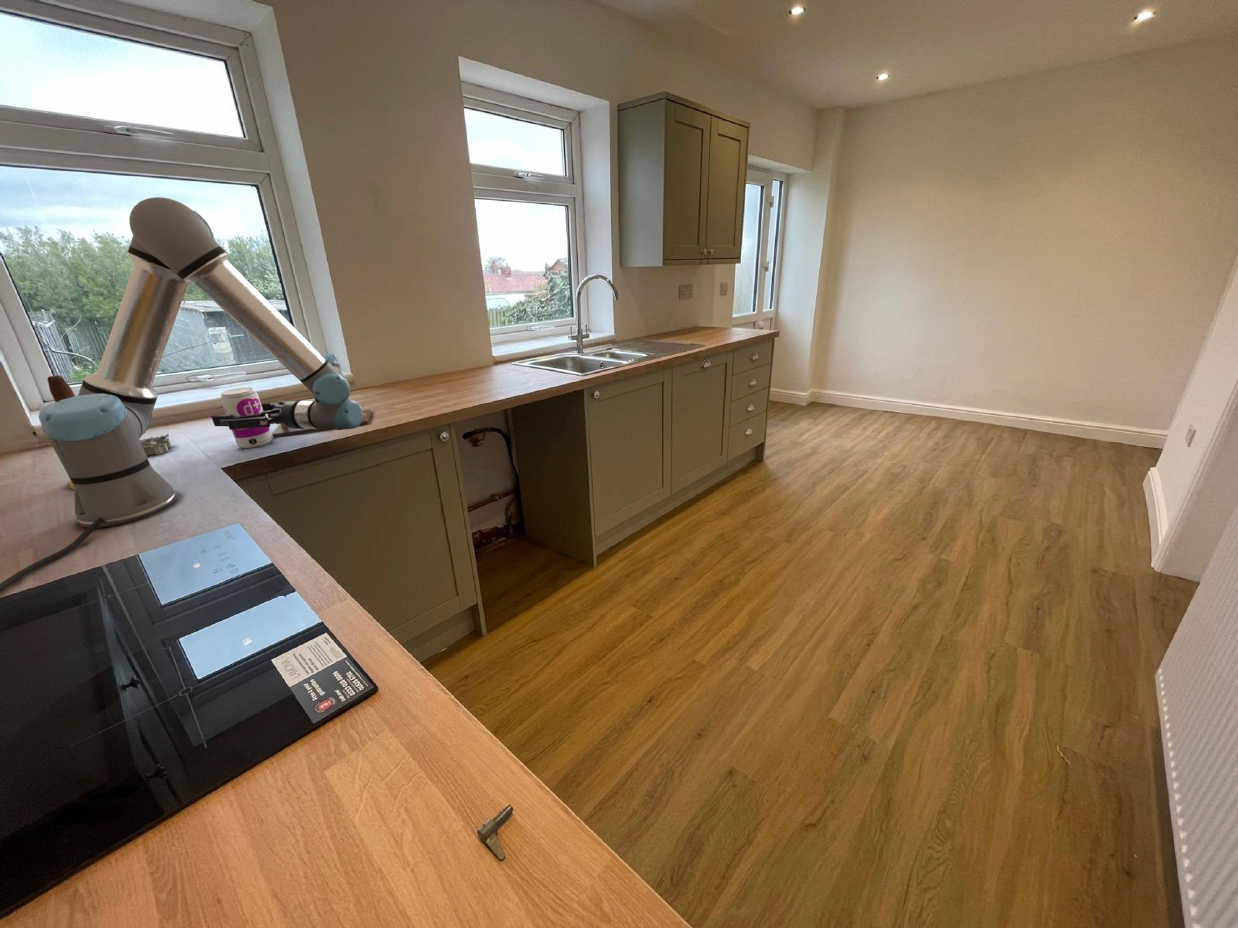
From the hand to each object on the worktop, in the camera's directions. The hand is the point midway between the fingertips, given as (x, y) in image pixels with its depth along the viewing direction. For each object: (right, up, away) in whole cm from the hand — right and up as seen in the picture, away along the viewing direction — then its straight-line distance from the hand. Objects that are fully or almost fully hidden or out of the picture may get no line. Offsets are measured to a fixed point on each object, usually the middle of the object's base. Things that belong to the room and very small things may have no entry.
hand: (232, 414), depth 137 cm
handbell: (-19, -17, -16) cm, 30 cm away
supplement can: (+4, -8, +3) cm, 10 cm away
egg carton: (-23, -11, 0) cm, 25 cm away
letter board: (+16, -1, +16) cm, 23 cm away
